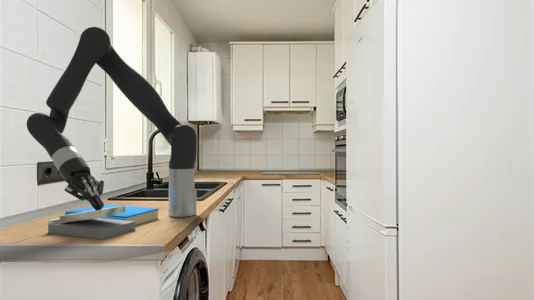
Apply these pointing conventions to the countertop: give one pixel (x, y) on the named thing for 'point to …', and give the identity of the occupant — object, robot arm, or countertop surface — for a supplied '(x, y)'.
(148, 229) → the countertop surface
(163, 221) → the countertop surface
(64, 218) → the silver flat block
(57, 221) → the board
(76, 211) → the book
